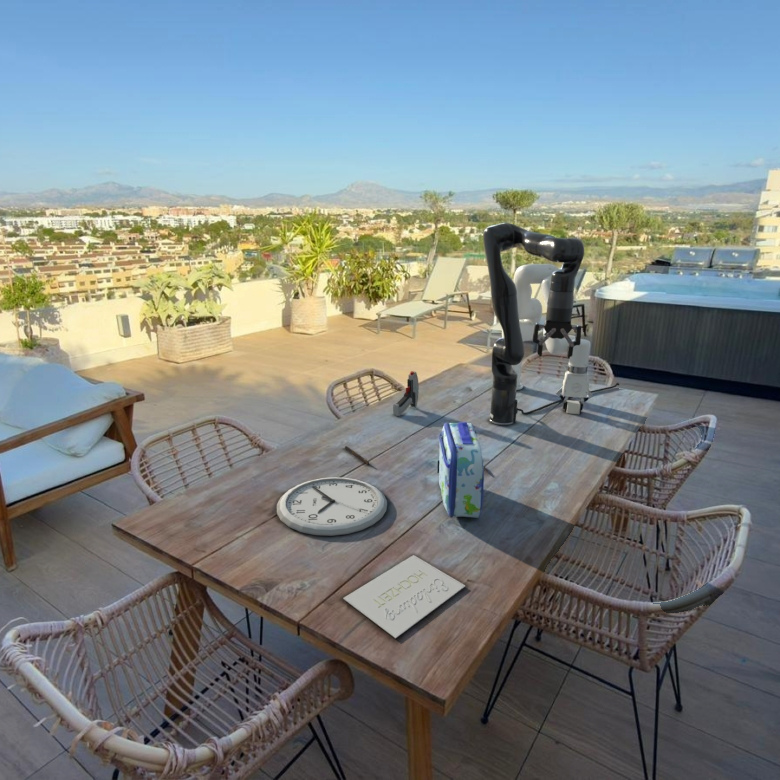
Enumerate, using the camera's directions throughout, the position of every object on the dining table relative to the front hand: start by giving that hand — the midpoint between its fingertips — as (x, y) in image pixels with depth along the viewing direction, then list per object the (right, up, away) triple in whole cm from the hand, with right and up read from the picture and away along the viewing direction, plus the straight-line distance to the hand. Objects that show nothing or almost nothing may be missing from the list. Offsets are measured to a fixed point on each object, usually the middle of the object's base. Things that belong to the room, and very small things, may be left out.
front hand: (554, 357), depth 165 cm
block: (+25, -20, +54) cm, 63 cm away
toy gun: (-45, -19, +51) cm, 71 cm away
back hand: (+25, -19, +54) cm, 63 cm away
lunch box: (-33, -41, -19) cm, 56 cm away
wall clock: (-68, -42, -23) cm, 83 cm away
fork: (-24, -34, +4) cm, 42 cm away
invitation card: (-49, -53, -56) cm, 91 cm away
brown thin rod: (-63, -33, +8) cm, 71 cm away
